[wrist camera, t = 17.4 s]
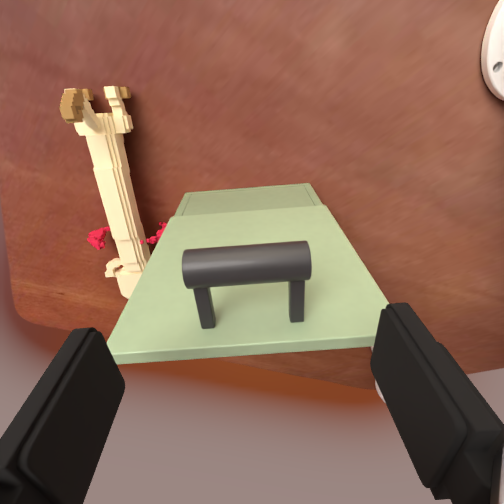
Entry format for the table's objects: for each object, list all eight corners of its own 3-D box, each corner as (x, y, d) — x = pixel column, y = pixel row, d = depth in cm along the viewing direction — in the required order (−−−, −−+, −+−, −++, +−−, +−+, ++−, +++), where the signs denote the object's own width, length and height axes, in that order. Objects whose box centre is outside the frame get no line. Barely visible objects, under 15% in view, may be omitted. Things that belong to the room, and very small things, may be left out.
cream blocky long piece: (58, 92, 30) (119, 296, 41) (-8, 87, 22) (90, 340, 33) (156, 87, 30) (190, 292, 41) (124, 79, 22) (178, 335, 33)
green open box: (306, 285, 42) (317, 322, 36) (205, 292, 42) (198, 330, 36) (309, 182, 34) (324, 206, 28) (185, 192, 34) (172, 218, 28)
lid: (405, 344, 14) (432, 252, 11) (105, 365, 14) (61, 280, 12) (325, 212, 28) (329, 156, 25) (172, 224, 28) (159, 169, 25)
